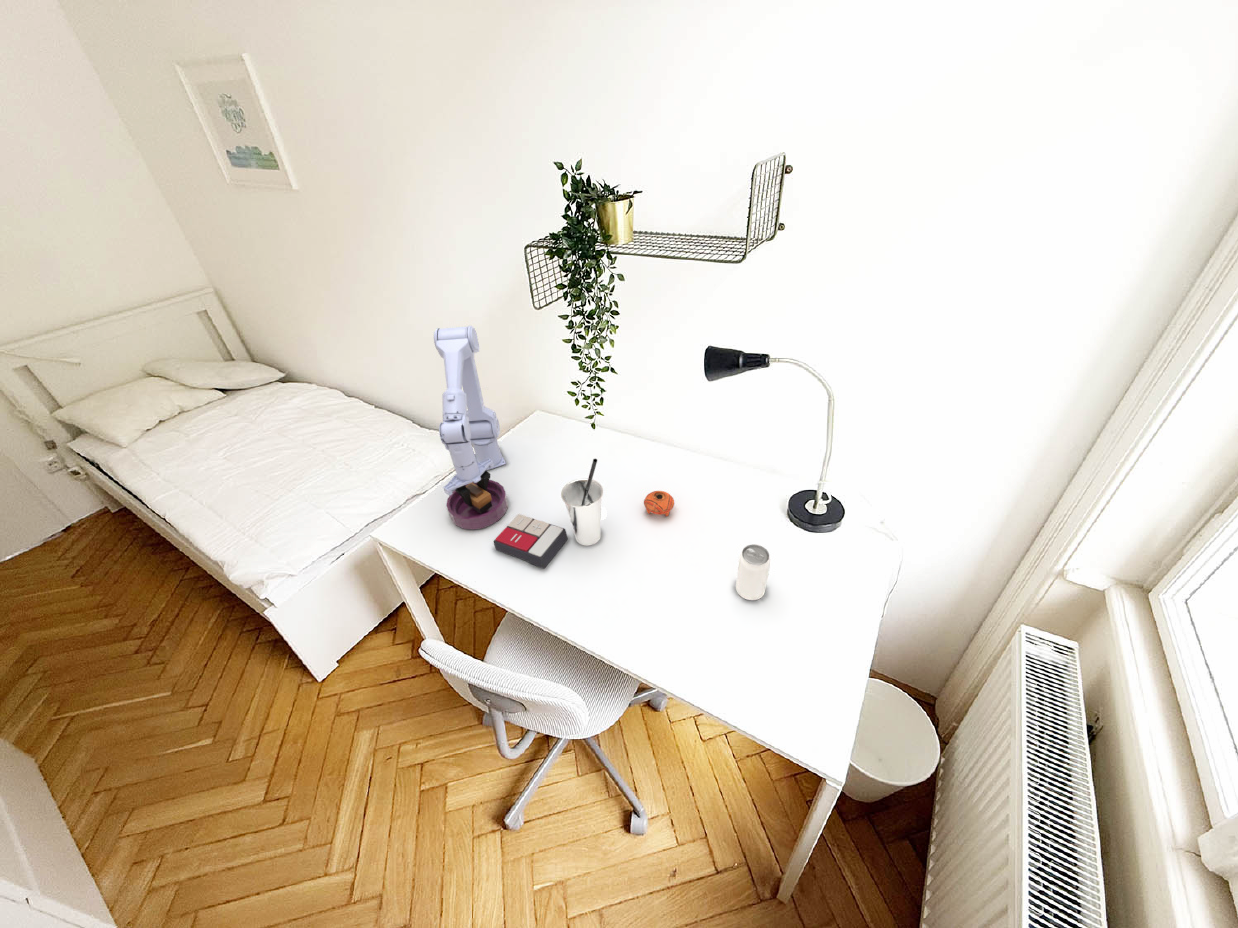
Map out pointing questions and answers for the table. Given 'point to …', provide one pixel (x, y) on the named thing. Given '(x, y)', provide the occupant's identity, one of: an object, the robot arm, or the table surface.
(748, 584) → the can
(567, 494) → the metal cup with straw
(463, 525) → the bowl
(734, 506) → the table surface
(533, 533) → the calculator
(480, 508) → the scrub brush
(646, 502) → the pot
